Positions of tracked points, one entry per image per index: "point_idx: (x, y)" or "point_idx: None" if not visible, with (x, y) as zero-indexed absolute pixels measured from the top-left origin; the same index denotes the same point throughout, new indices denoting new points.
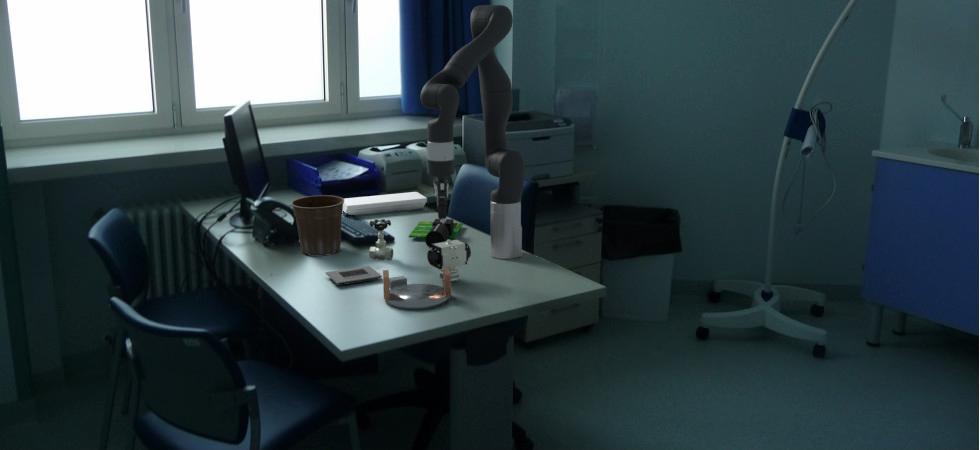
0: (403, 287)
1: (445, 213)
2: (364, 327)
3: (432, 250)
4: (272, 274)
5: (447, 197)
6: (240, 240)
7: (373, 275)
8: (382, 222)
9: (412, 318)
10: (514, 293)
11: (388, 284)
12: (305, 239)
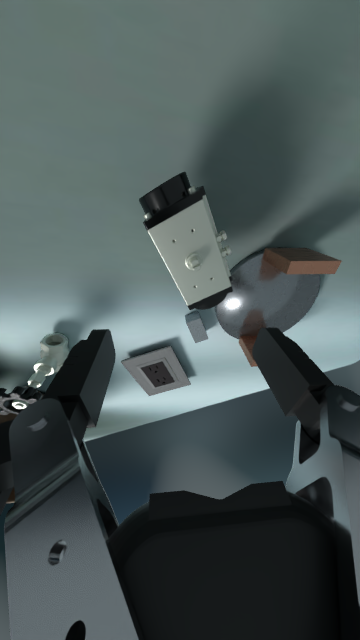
0: (229, 320)
1: (288, 346)
2: (323, 349)
3: (215, 303)
4: (136, 421)
5: (341, 442)
6: None
7: (168, 355)
8: (17, 402)
9: (331, 305)
10: (333, 33)
11: None
12: None
